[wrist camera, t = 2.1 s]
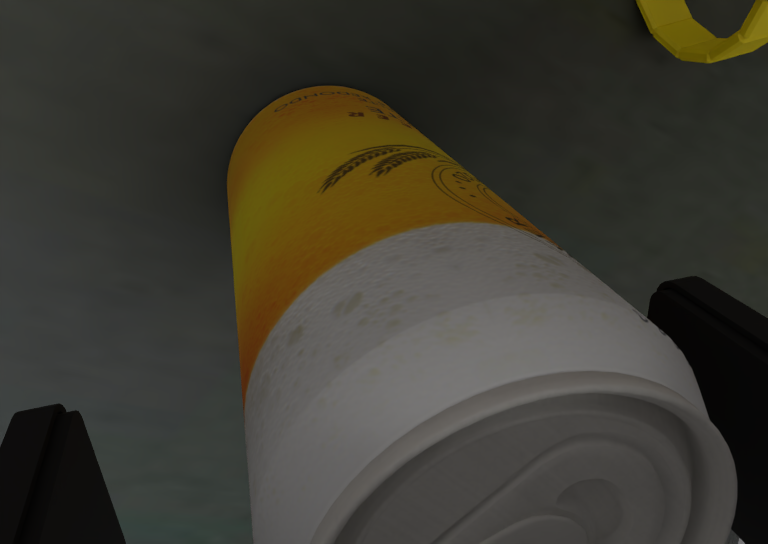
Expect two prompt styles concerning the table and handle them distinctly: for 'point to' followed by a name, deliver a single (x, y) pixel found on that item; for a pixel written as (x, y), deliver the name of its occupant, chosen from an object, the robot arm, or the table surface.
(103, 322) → the table surface
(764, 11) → the watch
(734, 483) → the beer can
